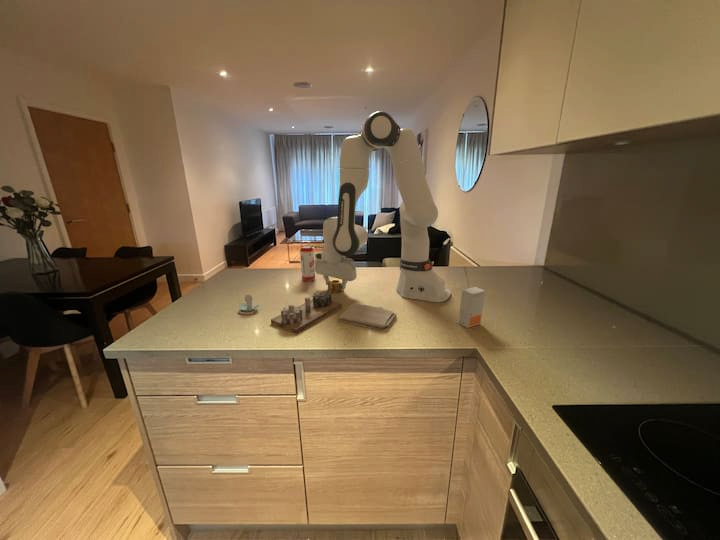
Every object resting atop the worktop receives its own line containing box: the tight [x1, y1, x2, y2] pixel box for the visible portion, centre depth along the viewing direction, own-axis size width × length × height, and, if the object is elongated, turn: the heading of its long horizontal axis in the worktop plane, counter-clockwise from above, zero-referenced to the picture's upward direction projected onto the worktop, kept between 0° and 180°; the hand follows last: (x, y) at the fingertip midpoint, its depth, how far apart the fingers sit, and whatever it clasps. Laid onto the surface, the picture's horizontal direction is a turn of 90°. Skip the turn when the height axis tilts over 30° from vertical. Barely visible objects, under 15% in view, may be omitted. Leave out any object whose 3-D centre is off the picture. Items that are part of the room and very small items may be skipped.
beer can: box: [299, 245, 316, 282], centre depth 137 cm, size 6×6×16 cm
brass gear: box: [327, 278, 345, 294], centre depth 125 cm, size 7×7×4 cm
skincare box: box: [457, 286, 486, 329], centre depth 94 cm, size 6×4×12 cm
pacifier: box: [238, 293, 260, 315], centre depth 105 cm, size 7×6×6 cm
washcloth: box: [337, 303, 397, 332], centre depth 99 cm, size 12×18×3 cm, turn 67°
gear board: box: [270, 290, 343, 335], centre depth 102 cm, size 12×23×6 cm, turn 146°
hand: (335, 286), depth 125 cm, fingers closed on brass gear, 7 cm apart
